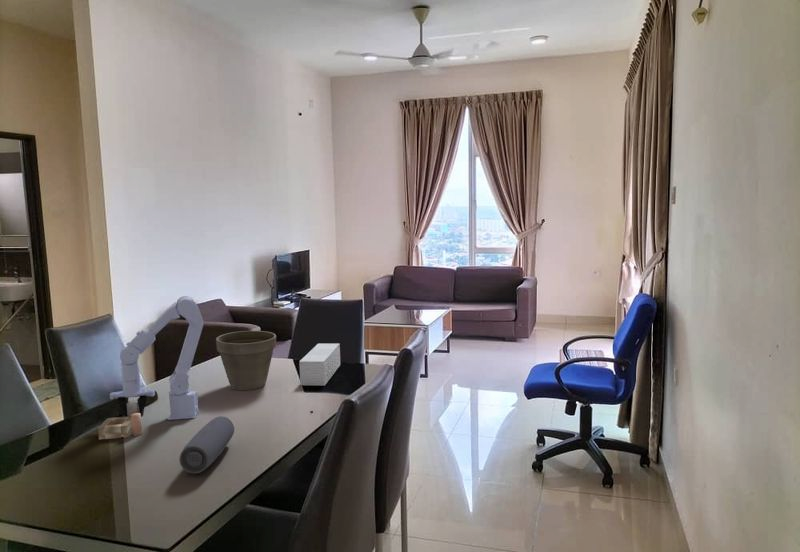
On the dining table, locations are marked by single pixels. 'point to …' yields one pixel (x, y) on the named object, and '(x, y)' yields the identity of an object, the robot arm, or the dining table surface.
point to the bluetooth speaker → (206, 445)
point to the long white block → (319, 364)
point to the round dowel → (136, 424)
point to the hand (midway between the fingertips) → (134, 416)
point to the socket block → (115, 428)
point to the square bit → (132, 407)
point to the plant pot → (246, 357)
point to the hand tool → (149, 401)
